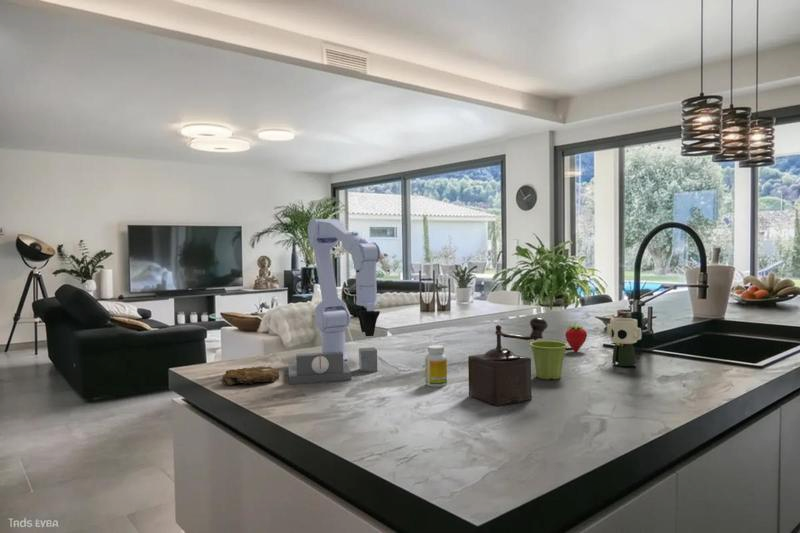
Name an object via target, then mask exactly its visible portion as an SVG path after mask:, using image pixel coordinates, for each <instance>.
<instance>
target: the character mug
mask: <svg viewBox="0 0 800 533" xmlns="http://www.w3.org/2000/svg"><path fill="white" fill-rule="evenodd" d="M606 334H607V335H609V338H610V339H609V340H611V342H613V343H615V344H614V346H613V350H612V362H611V364H613V365H616V363H617V365H618V366H621V367H630V366H634V365H636V364H637V360H636V354H635V352H636V351H635V347H634V345H633V344H635V343H637V342H638V341H640V340H642V328H641V327H638V319H636V318H629V317H627V318H626V317H617V318H615V317H614V318H611V319H610V320H609V323H607V325H606Z"/></svg>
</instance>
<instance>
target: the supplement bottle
mask: <svg viewBox="0 0 800 533" xmlns="http://www.w3.org/2000/svg"><path fill="white" fill-rule="evenodd" d="M427 352H428V354H426V356H425V358H424V359H425V360H424V362H425V363H424V364H425V367H424V368H425V370H424V371H425V372H424V374H425V385H426V386H427V387H432V388H441V387H445V386H446V385H447V384H448V365H447V364H448V362H447V361H448V357H447V355H446V354H444V352H445V346H444V345H442V344H438V345H437V344H435V345H433V344H432V345H428V346H427Z"/></svg>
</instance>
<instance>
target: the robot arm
mask: <svg viewBox="0 0 800 533" xmlns="http://www.w3.org/2000/svg"><path fill="white" fill-rule="evenodd" d="M307 235H308V236H307V237H308V242H309V247H310V248H313V253H314V258H315V265H316V266H315V267H316V271H317V277H318V282H319V288H320V289H319V290H320V295H321V301H320V302H319V303H318V304H317V305H316V307H315V308H314V309H315V311H314V314H315V316H314V322H315V325H316V328H317V330H319V331H320V332H321V353H324V352H340V351H342V353H343V359H344V360H345V361H348V360H349V358H348V356H347V354H346V331H347V329H348V327H349V326H350V323H351V314H350V313H351V312H350V311H349V309H348V305H347V303H346V302H345V301H343V300H342V299H340V298H339V295H338V288H337V282H336V276H335V272H334V264H333V260H332V254H331V253H332V252H331V250H332V248H334V247H336V245H337V244H338V242H341V247H342V248H343V249H344V250H345V251H346V252H347V253H349V254H350V255H351V256H350V257H351V259H352V260H351V261H352V263H353V269H354V270H355V283H356V284H355V285H356V286H355V288H356V291H355V294H356V295H355V296H356V301H355V304H356V306H359V307H354V310H355V312H356V315H357V318H358V322H359V326H360V327H359V328H360V330H361V333H364V335H365V337H374V335H375V330H376V325H377V320H378V319H379V316H380V313H381V311H380V310H375V306H376V305H378V304H382V300H378V299H377V298H378V296H377V294H378V293H377V292H378V291H377V287H378V286H377V263H378V262H379V261H380V257H381V249H380V247H379V245H378V244H377V242H368V241H367V240H366V239H365V238H363V237H362V236H360V235H359V232H358V231H350V232H349V230H347V229H346V227H345V226H344V222H343V221H342V220H340V219H339V218H334V219H331V218H329V219H327V218H311V219H310V220H309V222H308V226H307Z"/></svg>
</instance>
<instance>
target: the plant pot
mask: <svg viewBox="0 0 800 533" xmlns="http://www.w3.org/2000/svg"><path fill="white" fill-rule="evenodd" d="M529 345H530V347H531V350H532V354H533V360H534V367H535V368H534V370H535V375H536V377H537V378H538V379H543V380H550V379H552V380H558V379H560V378H561V377H562V371H563V362H564V357H565V352H566V348H568V344H567V343H565V342H562V341H555V340H540V341H539V340H534V341H531V342H530V343H529Z"/></svg>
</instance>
